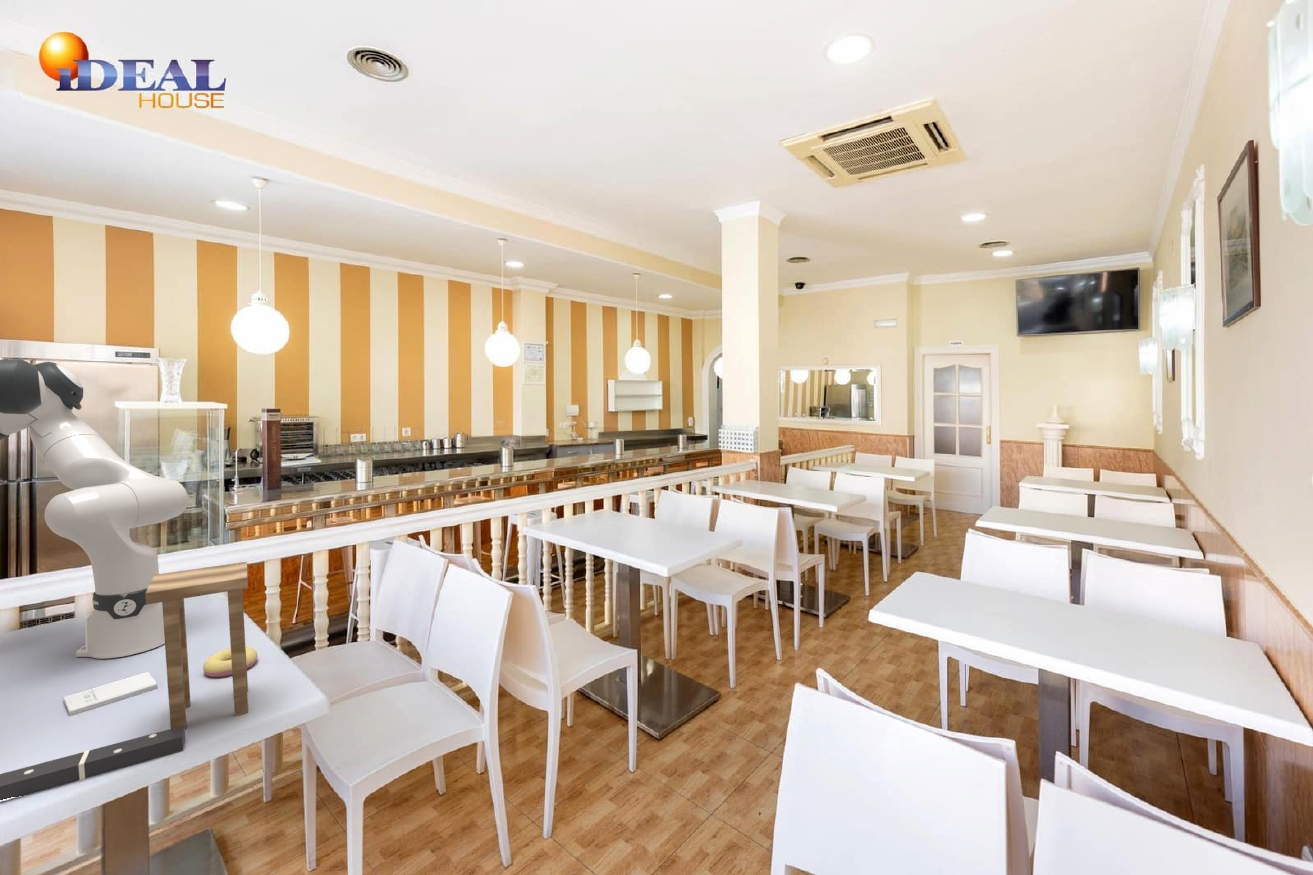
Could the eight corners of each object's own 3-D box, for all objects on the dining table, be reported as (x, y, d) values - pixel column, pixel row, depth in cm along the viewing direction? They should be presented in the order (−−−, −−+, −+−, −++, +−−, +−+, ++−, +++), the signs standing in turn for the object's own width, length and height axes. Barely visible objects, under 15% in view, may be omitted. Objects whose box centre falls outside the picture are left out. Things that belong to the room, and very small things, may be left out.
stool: (163, 707, 107) (154, 574, 105) (253, 685, 115) (247, 561, 113) (155, 739, 97) (145, 593, 95) (254, 712, 105) (247, 577, 103)
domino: (-25, 797, 83) (-26, 780, 83) (185, 739, 97) (184, 724, 97) (-36, 813, 80) (-38, 796, 80) (183, 751, 94) (181, 736, 94)
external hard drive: (157, 690, 114) (69, 718, 104) (148, 678, 119) (63, 703, 109) (157, 683, 113) (69, 710, 104) (147, 670, 118) (62, 695, 109)
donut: (263, 666, 128) (216, 664, 126) (267, 645, 128) (220, 643, 126) (242, 680, 118) (191, 679, 116) (246, 658, 119) (195, 656, 117)
